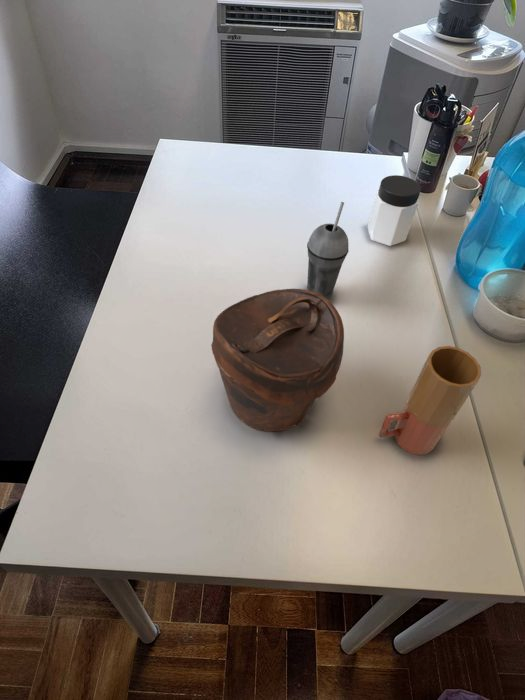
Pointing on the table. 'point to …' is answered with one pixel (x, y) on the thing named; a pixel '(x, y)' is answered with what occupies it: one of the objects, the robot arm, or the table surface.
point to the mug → (412, 432)
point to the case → (277, 355)
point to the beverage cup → (326, 256)
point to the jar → (393, 210)
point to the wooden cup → (443, 385)
